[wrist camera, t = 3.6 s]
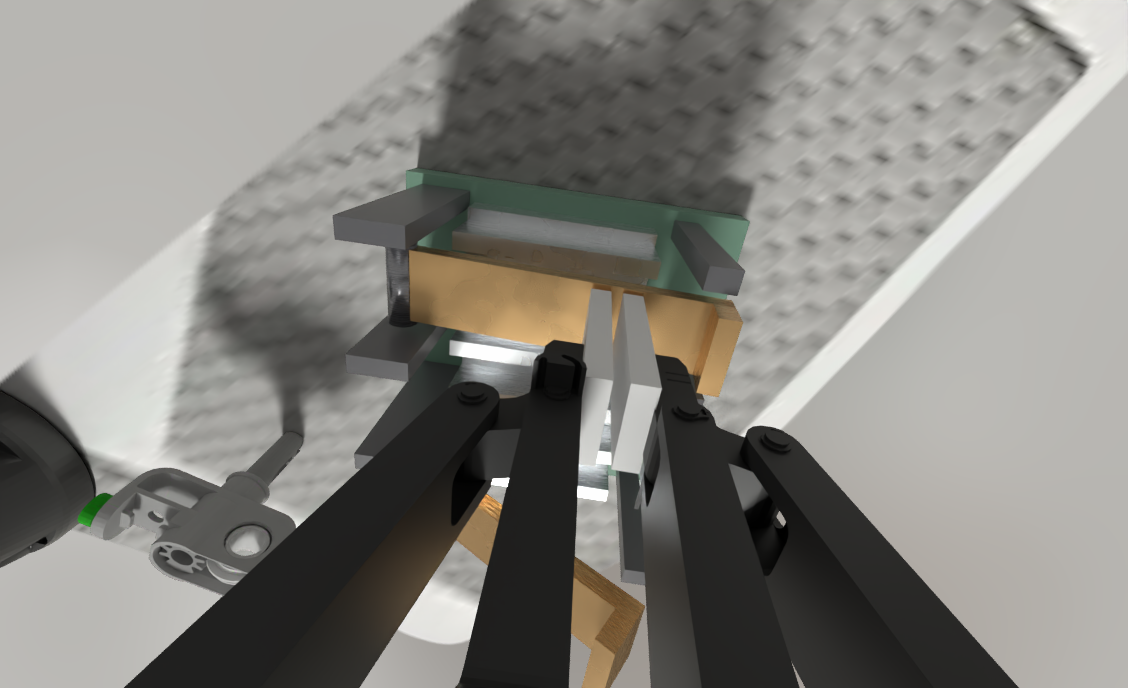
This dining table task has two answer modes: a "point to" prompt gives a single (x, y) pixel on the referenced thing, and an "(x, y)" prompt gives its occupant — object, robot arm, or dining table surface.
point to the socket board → (590, 206)
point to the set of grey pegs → (407, 348)
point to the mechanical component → (201, 518)
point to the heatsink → (553, 247)
